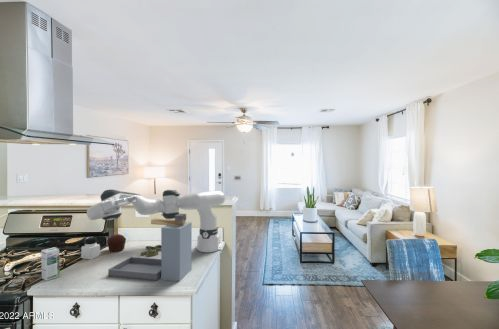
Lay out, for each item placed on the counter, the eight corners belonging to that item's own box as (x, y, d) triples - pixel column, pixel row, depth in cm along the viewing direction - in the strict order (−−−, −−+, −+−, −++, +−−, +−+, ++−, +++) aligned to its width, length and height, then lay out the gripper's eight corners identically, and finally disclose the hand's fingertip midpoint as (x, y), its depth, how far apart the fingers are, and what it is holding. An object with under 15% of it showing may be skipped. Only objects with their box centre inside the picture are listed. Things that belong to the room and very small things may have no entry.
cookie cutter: (146, 248, 176) (146, 245, 176) (164, 247, 177) (164, 244, 177) (138, 257, 158) (138, 254, 158) (159, 257, 160) (159, 253, 160)
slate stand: (174, 268, 142) (174, 221, 142) (191, 269, 141) (191, 222, 140) (161, 279, 129) (161, 227, 128) (179, 281, 127) (180, 228, 126)
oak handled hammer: (155, 222, 139) (155, 212, 139) (186, 224, 136) (186, 213, 136) (150, 224, 134) (150, 214, 134) (182, 226, 131) (182, 215, 131)
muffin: (103, 250, 169) (103, 235, 169) (120, 246, 178) (120, 231, 178) (112, 254, 162) (112, 238, 162) (129, 249, 172) (129, 234, 171)
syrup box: (46, 281, 126) (46, 251, 126) (41, 278, 129) (41, 249, 129) (59, 276, 131) (59, 248, 131) (54, 274, 134) (54, 246, 134)
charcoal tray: (130, 262, 150) (130, 256, 150) (173, 266, 145) (173, 260, 145) (108, 276, 132) (108, 269, 132) (156, 281, 127) (156, 273, 127)
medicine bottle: (100, 255, 160) (100, 236, 160) (89, 259, 153) (89, 239, 153) (91, 254, 162) (91, 235, 162) (81, 258, 156) (81, 238, 156)
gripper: (125, 208, 157) (144, 200, 154) (99, 214, 138) (119, 206, 134) (122, 198, 158) (141, 191, 155) (95, 203, 138) (116, 195, 135)
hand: (131, 198), depth 144 cm, fingers open, 8 cm apart
